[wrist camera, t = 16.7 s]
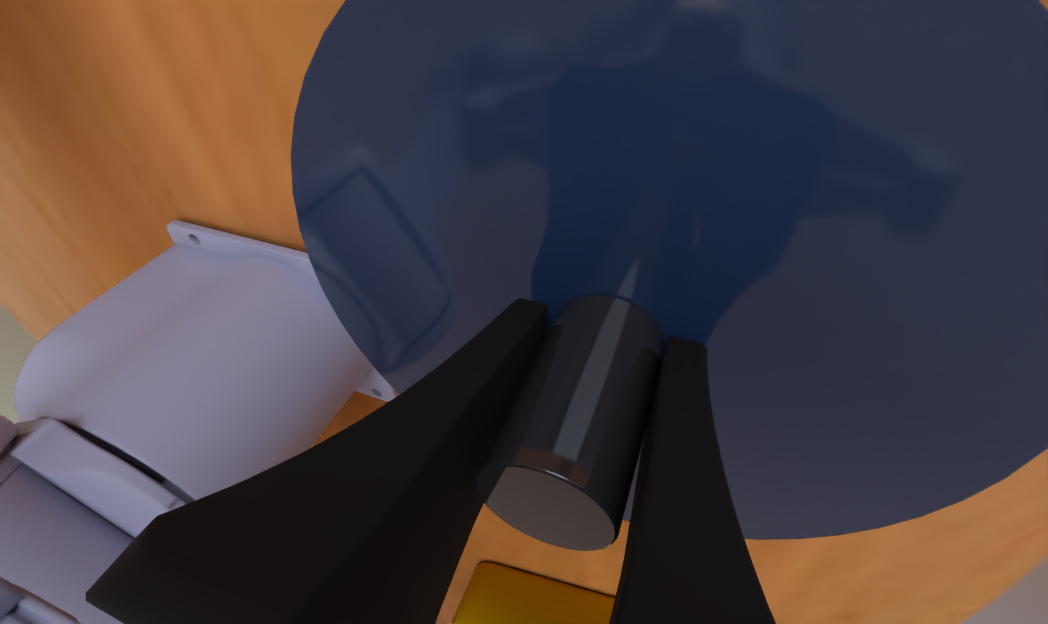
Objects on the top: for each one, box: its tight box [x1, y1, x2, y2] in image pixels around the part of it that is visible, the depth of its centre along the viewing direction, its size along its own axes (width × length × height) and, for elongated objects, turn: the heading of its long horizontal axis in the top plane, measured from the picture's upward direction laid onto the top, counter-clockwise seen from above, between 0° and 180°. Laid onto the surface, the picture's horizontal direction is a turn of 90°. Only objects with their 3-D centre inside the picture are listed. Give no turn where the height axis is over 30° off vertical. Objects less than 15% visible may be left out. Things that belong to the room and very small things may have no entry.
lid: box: [291, 0, 1048, 551], centre depth 10 cm, size 15×15×5 cm
